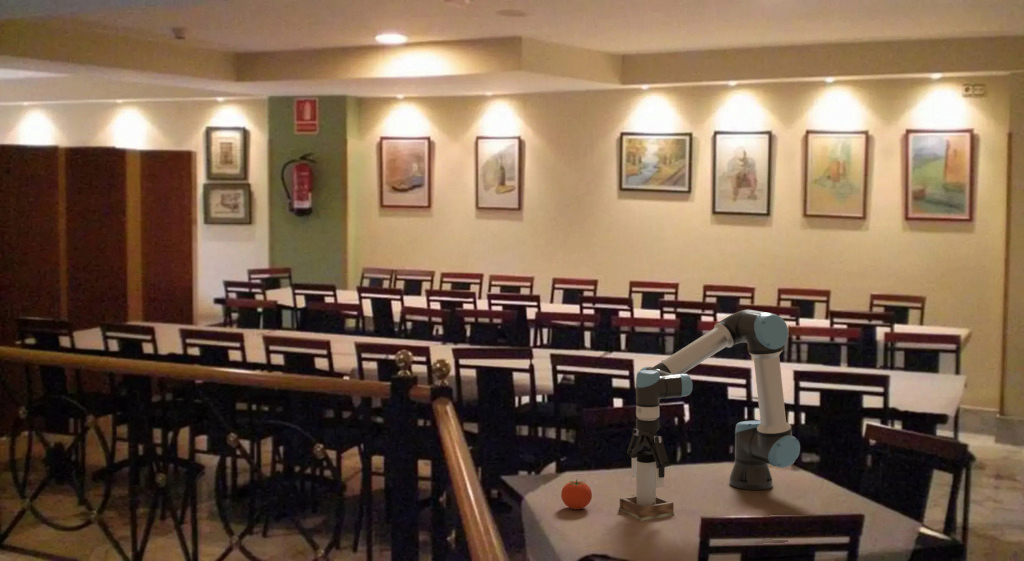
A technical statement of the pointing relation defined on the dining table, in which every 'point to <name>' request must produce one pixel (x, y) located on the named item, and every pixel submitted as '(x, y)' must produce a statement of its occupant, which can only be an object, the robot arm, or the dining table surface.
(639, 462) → the travel mug
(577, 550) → the dining table surface
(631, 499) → the walnut caddy
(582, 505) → the tomato
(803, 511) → the dining table surface
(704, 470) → the dining table surface
